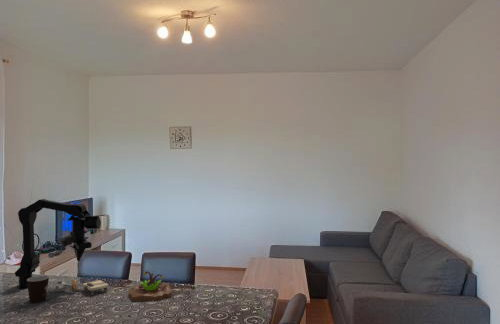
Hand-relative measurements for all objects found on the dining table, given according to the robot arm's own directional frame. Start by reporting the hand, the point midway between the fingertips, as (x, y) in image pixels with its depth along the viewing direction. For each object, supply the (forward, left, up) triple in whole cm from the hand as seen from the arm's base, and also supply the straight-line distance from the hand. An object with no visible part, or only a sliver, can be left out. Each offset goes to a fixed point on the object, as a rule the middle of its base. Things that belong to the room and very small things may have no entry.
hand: (78, 260), depth 184 cm
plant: (+36, +20, -14) cm, 43 cm away
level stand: (+12, +1, -13) cm, 17 cm away
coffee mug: (+7, -19, -13) cm, 24 cm away
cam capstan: (+4, -7, -13) cm, 15 cm away
